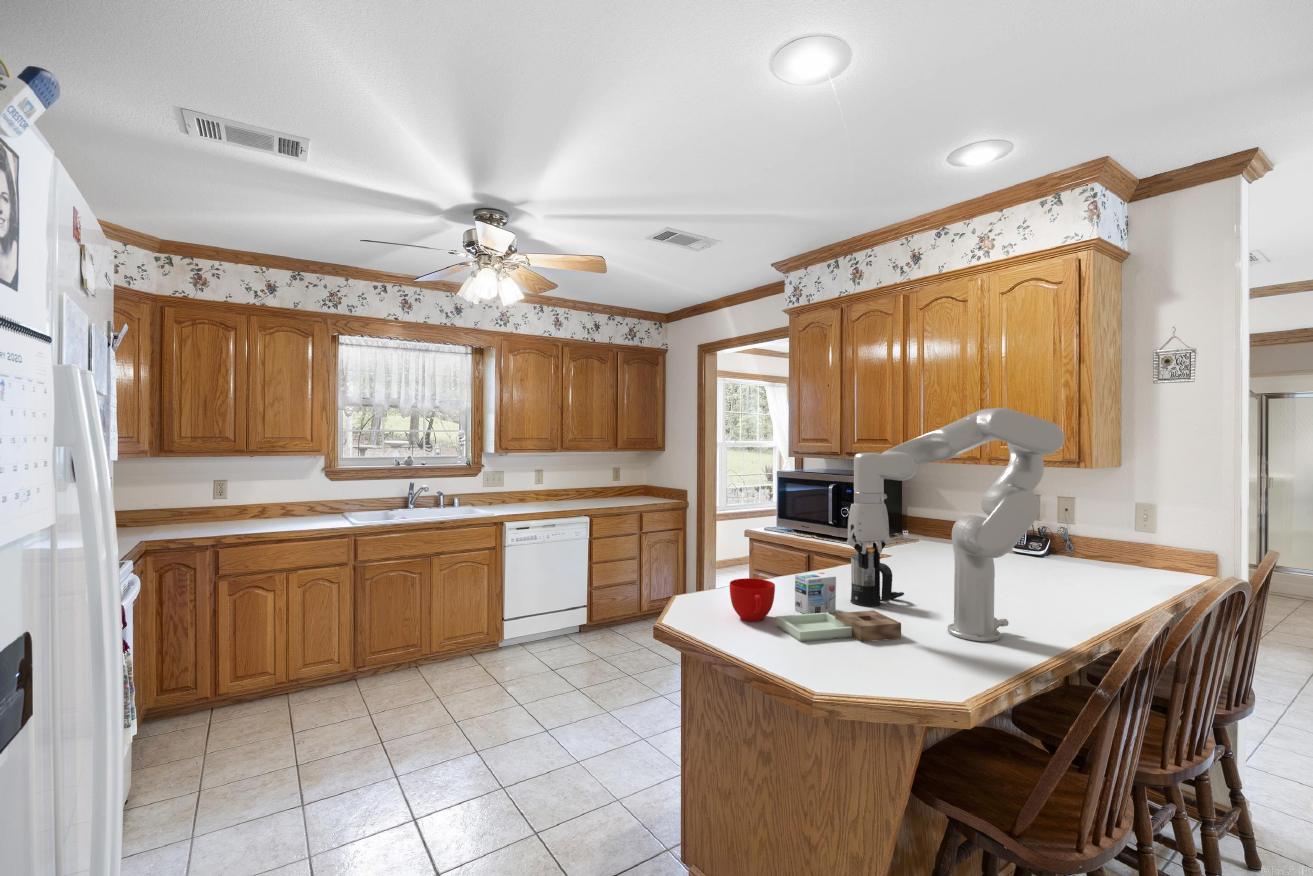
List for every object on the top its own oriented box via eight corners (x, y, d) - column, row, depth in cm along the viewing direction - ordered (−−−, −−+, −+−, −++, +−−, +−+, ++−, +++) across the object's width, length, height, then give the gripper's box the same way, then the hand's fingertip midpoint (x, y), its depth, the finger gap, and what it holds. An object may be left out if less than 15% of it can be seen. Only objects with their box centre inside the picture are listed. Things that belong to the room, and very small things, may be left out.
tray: (826, 621, 176) (826, 612, 176) (855, 636, 162) (855, 627, 162) (775, 625, 171) (775, 616, 171) (800, 642, 158) (800, 632, 158)
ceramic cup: (735, 629, 168) (735, 592, 167) (726, 611, 184) (726, 578, 184) (782, 629, 168) (782, 592, 168) (769, 611, 185) (769, 578, 185)
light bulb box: (807, 616, 181) (808, 579, 181) (793, 610, 187) (793, 574, 187) (836, 612, 185) (837, 576, 185) (822, 606, 191) (822, 571, 191)
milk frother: (844, 603, 195) (845, 556, 195) (864, 593, 207) (865, 549, 207) (890, 612, 186) (890, 562, 185) (908, 601, 198) (908, 555, 197)
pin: (870, 583, 167) (870, 546, 167) (876, 586, 164) (876, 548, 164) (861, 584, 166) (861, 547, 166) (867, 586, 164) (867, 549, 164)
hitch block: (873, 624, 173) (873, 610, 173) (901, 638, 161) (901, 623, 161) (835, 627, 170) (835, 613, 170) (860, 642, 158) (860, 626, 158)
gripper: (886, 496, 171) (886, 563, 171) (834, 498, 167) (834, 566, 167) (904, 499, 164) (904, 568, 164) (849, 501, 159) (850, 572, 160)
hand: (869, 567), depth 165 cm, fingers closed on pin, 2 cm apart
